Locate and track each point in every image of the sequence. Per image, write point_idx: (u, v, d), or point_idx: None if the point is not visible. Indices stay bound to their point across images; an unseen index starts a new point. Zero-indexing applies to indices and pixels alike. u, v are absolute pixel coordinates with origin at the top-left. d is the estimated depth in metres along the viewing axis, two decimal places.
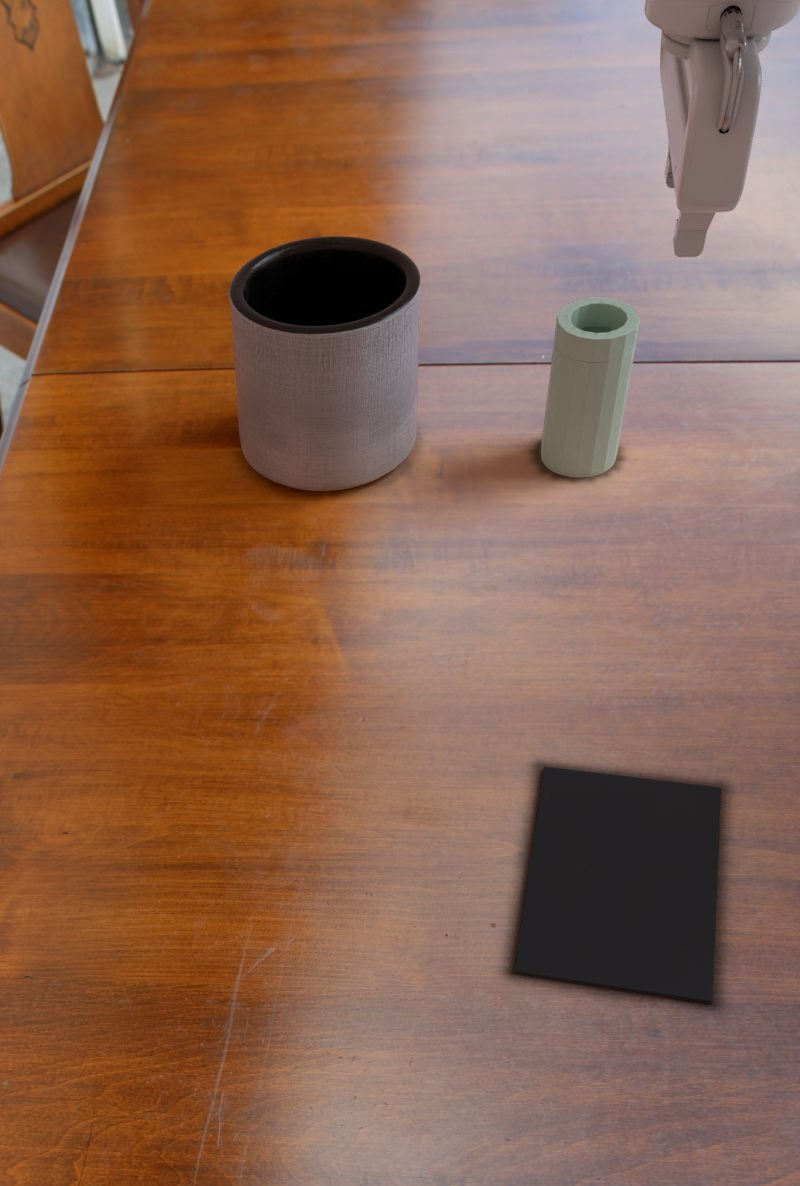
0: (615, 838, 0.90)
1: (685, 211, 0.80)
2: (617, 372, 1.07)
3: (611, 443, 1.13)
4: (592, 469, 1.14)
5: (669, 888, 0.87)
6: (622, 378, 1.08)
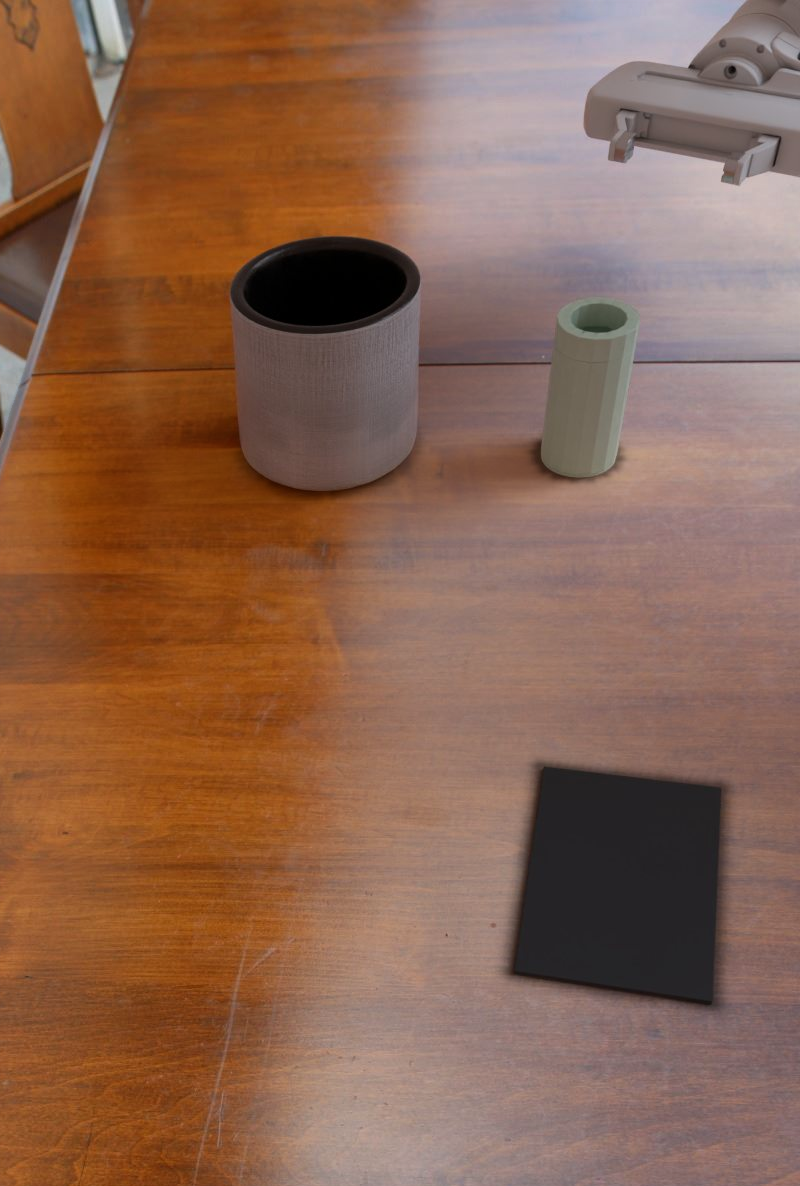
0: (615, 838, 0.90)
1: (585, 131, 1.13)
2: (617, 372, 1.07)
3: (611, 443, 1.13)
4: (592, 469, 1.14)
5: (669, 888, 0.87)
6: (622, 378, 1.08)
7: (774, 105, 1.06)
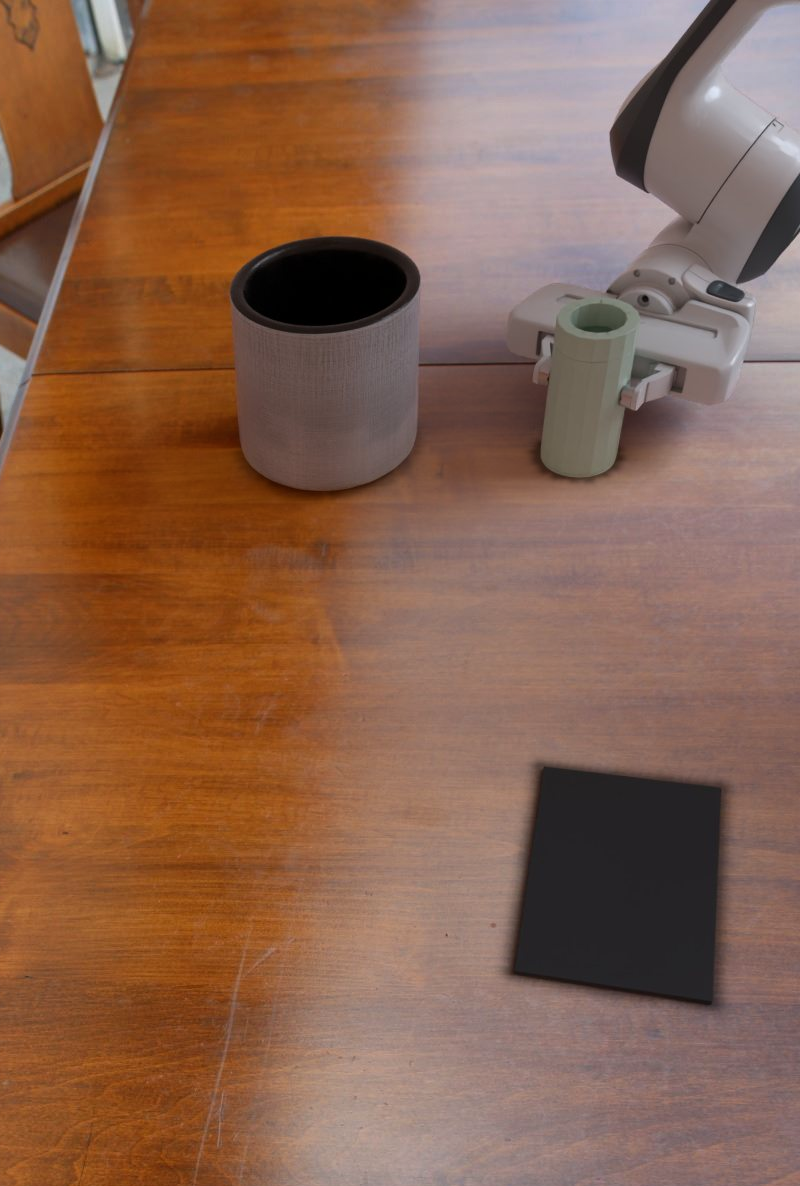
0: (615, 838, 0.90)
1: (508, 347, 1.18)
2: (617, 372, 1.07)
3: (611, 443, 1.13)
4: (592, 469, 1.14)
5: (669, 888, 0.87)
6: (622, 378, 1.08)
7: (682, 336, 1.11)
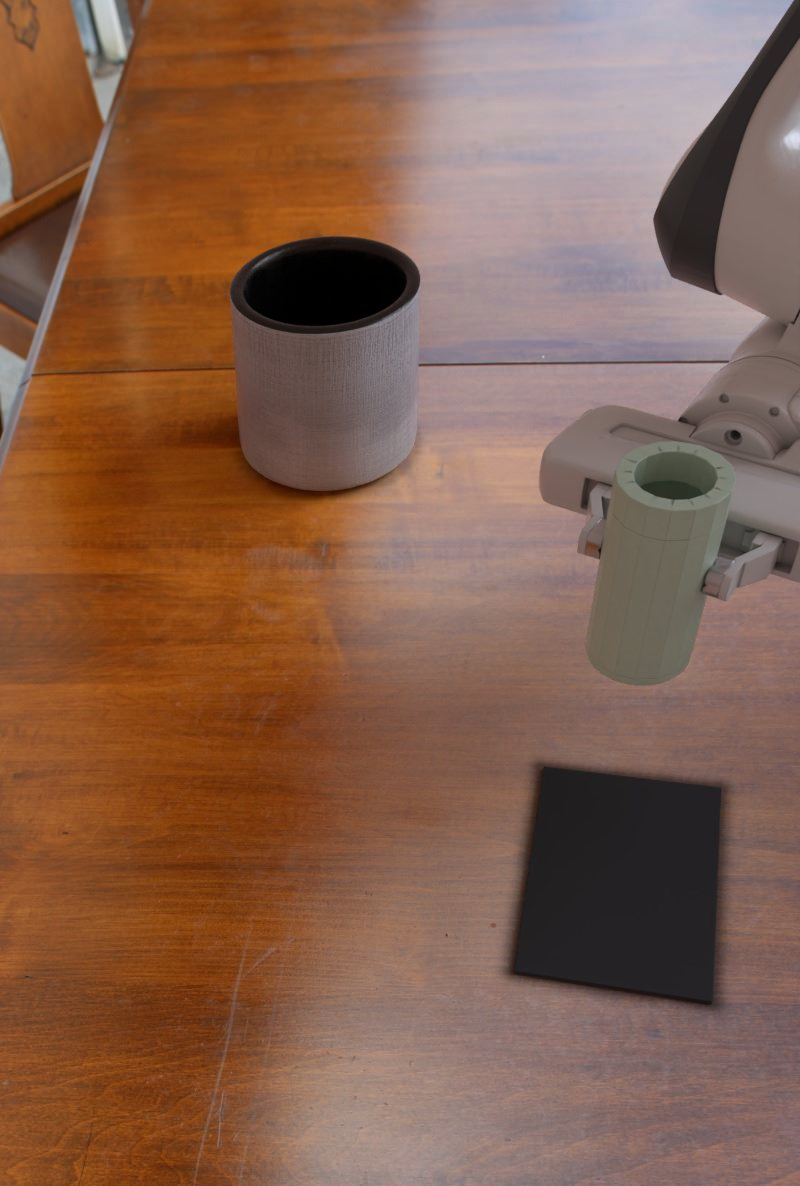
0: (615, 838, 0.90)
1: (541, 495, 0.85)
2: (701, 552, 0.75)
3: (687, 639, 0.80)
4: (659, 672, 0.81)
5: (669, 888, 0.87)
6: (708, 559, 0.75)
7: (791, 493, 0.78)
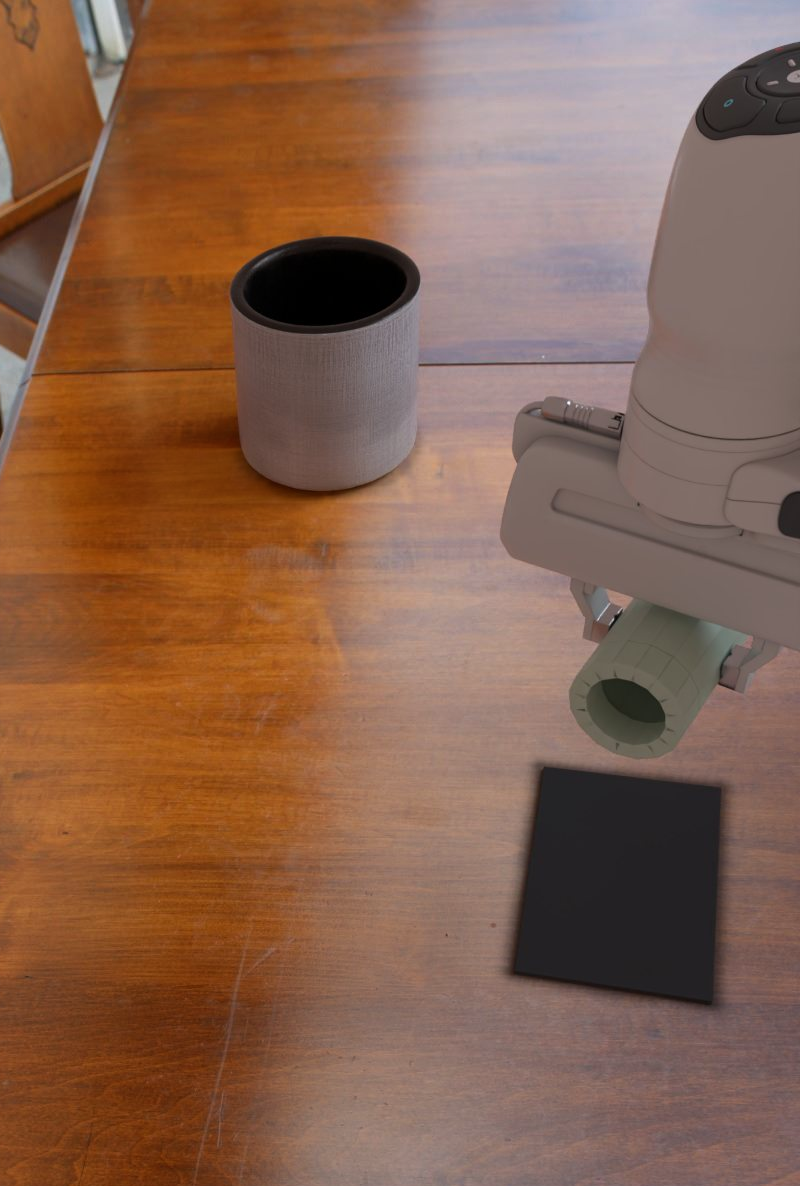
0: (615, 838, 0.90)
1: None
2: None
3: None
4: None
5: (669, 888, 0.87)
6: (708, 697, 0.72)
7: (773, 592, 0.65)
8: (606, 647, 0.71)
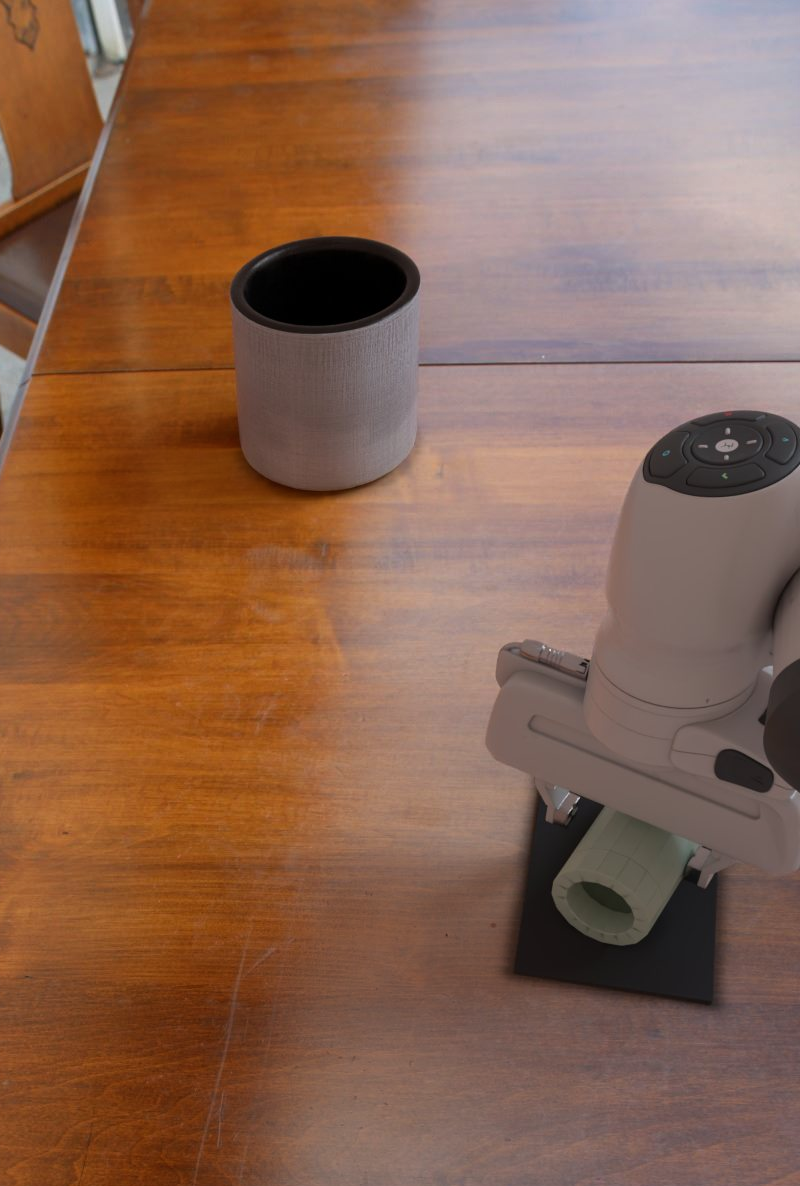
0: None
1: None
2: None
3: None
4: None
5: None
6: None
7: (713, 813, 0.77)
8: (590, 852, 0.82)
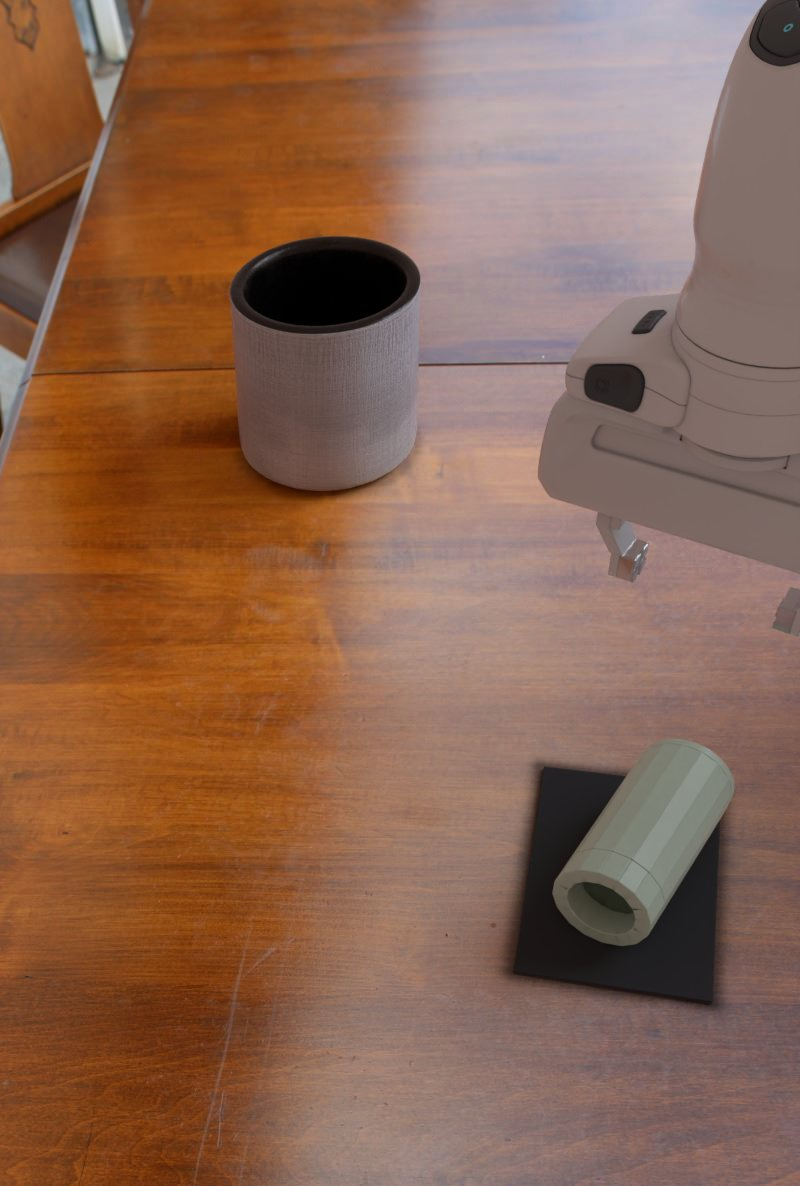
0: None
1: None
2: None
3: None
4: None
5: None
6: None
7: None
8: (592, 852, 0.82)
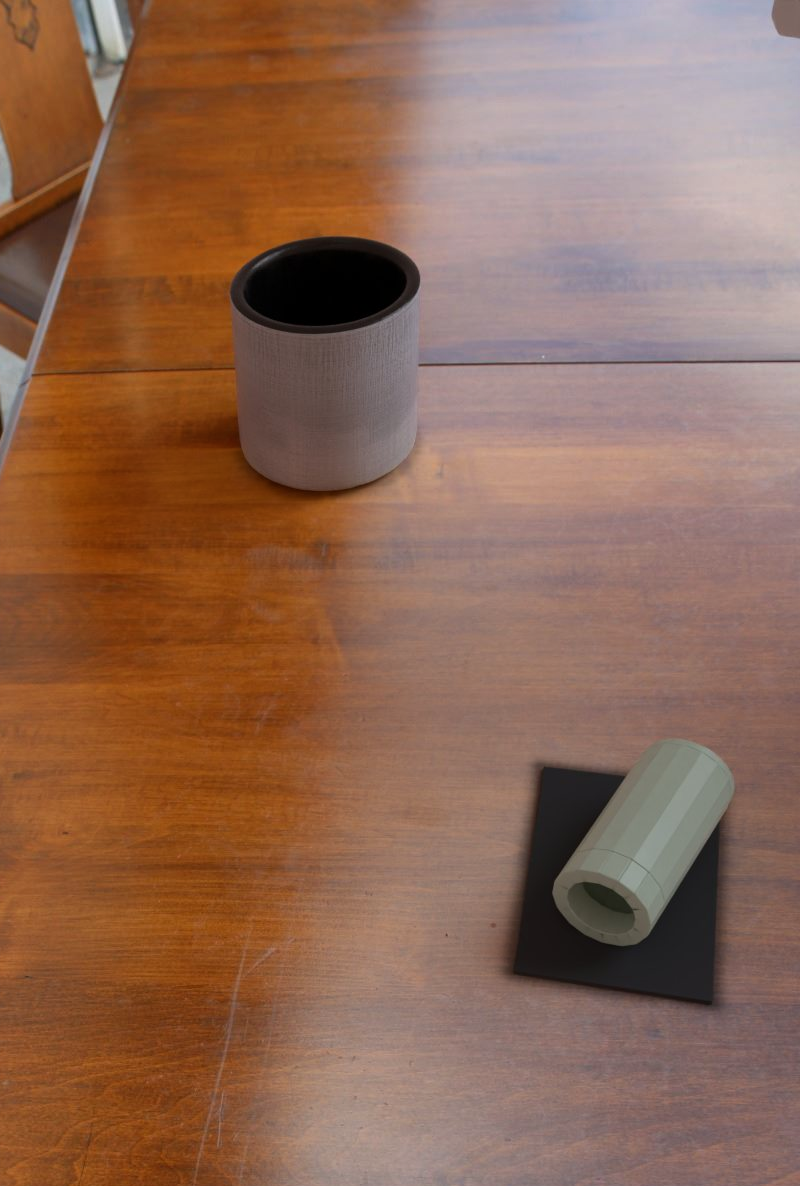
0: None
1: None
2: None
3: None
4: None
5: None
6: None
7: None
8: (592, 852, 0.82)
